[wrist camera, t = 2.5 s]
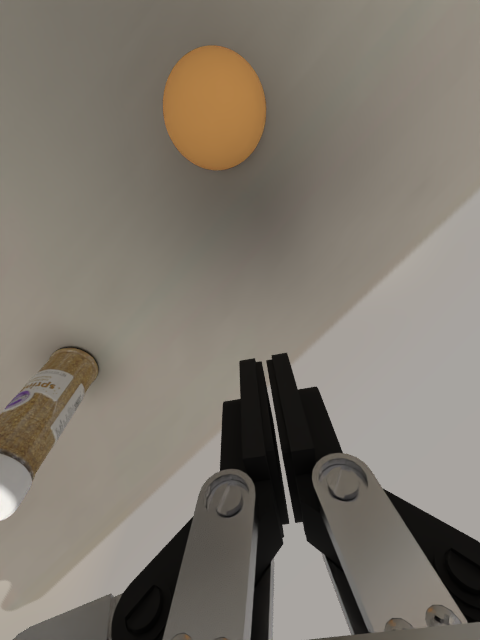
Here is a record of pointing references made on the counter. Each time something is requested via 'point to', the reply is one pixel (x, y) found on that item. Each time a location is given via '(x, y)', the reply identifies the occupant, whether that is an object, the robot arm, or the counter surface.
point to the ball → (214, 107)
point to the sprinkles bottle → (39, 421)
